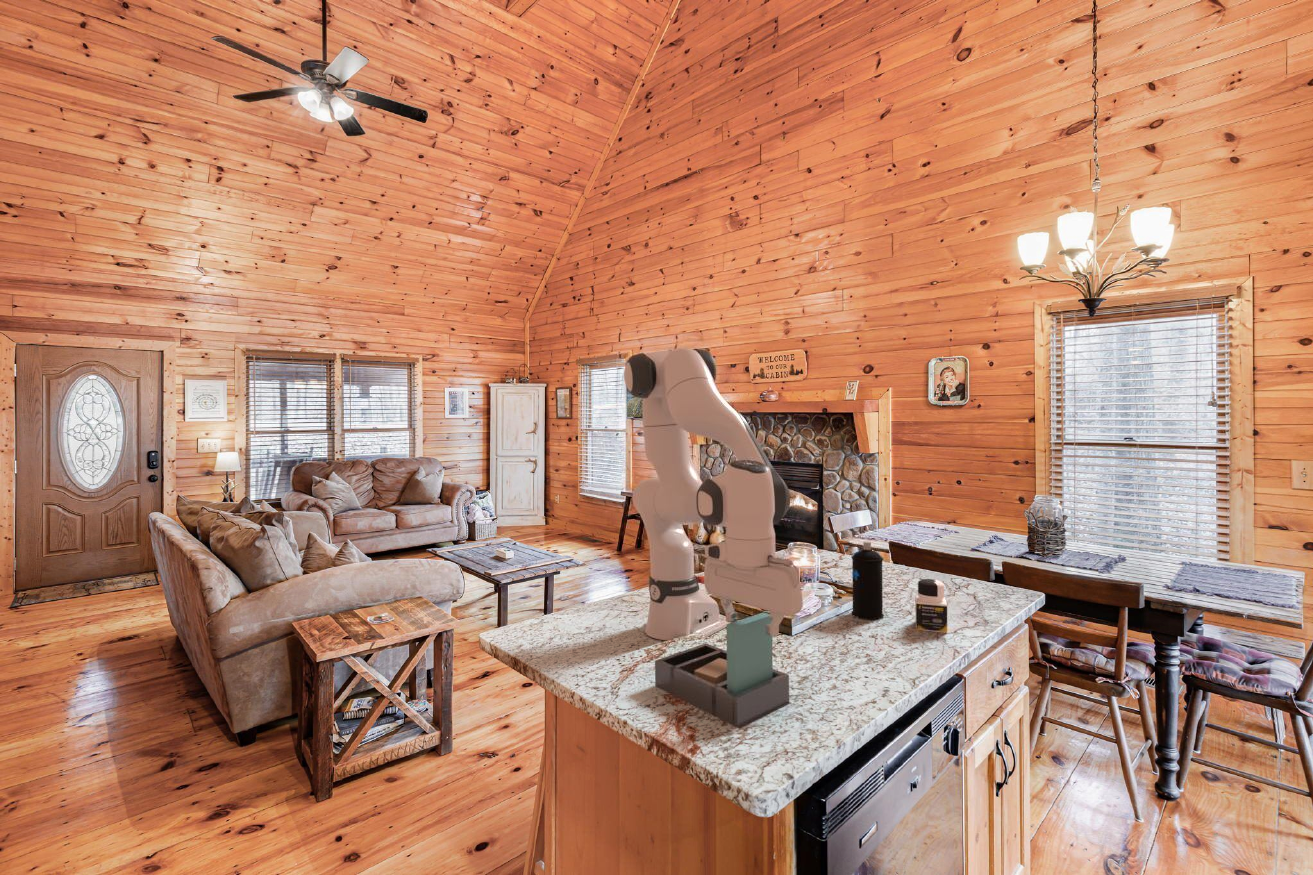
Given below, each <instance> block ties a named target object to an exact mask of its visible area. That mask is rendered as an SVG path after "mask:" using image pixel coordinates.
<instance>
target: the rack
mask: <svg viewBox="0 0 1313 875" xmlns="http://www.w3.org/2000/svg"><path fill="white" fill-rule="evenodd" d="M718 658H721V659H724V660H727V650H725V649H721V648H720V647H717V646H714V645H712V644H709V643H703V644H699V645H697V646H694V647H691V648H688V649H686V650H682V651H679V652H677V653H673V654H671V655H667V656H665V657H662V658H659V659H656V660H654V678H655V684H654V685H655V686H654V687H655V688H658V689H660V690H661V691H664V692H666V693H667V694H670V695H672V696H674V697H676V698H678V699H680V700H682V701H684V702H686V703H687V704H690V705H691V706H694V707H696V708H697V709H700V710H702V711H704V712H706V713H708V714H709V715H712V716H713V717H715V718H718V719H719V720H721V721H724V722H725V723H727V724H730V725H731V726H733V727H736V728H737V729H740V730H741V729H742V728H745V727H746V726H748V725H750V724H753V723H754V722H756V721H758V720H760V719H762V718H764V717H766V716H768V715H770V714H772V713H775V712H776V711H778V710H781V709H782V708H785V707H786V706H789V705H791V704H792V702H790V675H789V674H788V673H785V672H782V671H779V670H778V669H774V668H773V678H772V679H770V680H768V681H766V682H763V683H761V684H759V685H757V686H754V687H752V688H750V689H747V690H745V691H743V692H741V693H738V694H735V693H733V692H731V691H728V690H727V680H726V681H724V682H721V683H719V684H716V685H715V684H713V683H711V682H708V681H706V680H704V679H702V678H699V677H697V676H695V675H694V671H695V670H697V669H699V668H701V667H703V666H705V665H707V664H708V663H710V662H712V661H714V660H716V659H718Z"/></svg>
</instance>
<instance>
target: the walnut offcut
mask: <svg viewBox="0 0 1313 875" xmlns="http://www.w3.org/2000/svg"><path fill="white" fill-rule="evenodd" d="M694 675H695V676H697V677H699V678H702V679H704V680H706V681H708V682H711V683H713V684H715V685H716V684H719V683H721V682H724V681H726V680H727V660H724V659H721V658H718V659H716V660H714V661H712V662H710V663H708V664H707V665H705V666H703V667H701V668H699V669H697V670H695V671H694Z"/></svg>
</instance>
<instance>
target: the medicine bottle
mask: <svg viewBox="0 0 1313 875" xmlns="http://www.w3.org/2000/svg"><path fill="white" fill-rule="evenodd" d="M914 605H915V607H914V608H915V610H914V611H915V612H914V613H915V619H914V620H915V629H916V630H917V631H924V632H932V633H940V634H941V633H942V634H943V633H944V634H947V633H948V603H947V601H946V597H945V584H944V583H943V582H942V581H940V580H937V579H933V578H924V579H920V580H918V581H917V594H916V595H915V604H914Z"/></svg>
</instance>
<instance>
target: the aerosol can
mask: <svg viewBox="0 0 1313 875" xmlns="http://www.w3.org/2000/svg"><path fill="white" fill-rule="evenodd" d="M862 543H863V547H862V549H860V550H858V551H856V552H854V554H853V555H851V559H852V562H851V563H852V565H851V568H852V611H851V614H852V616H853V615H854V616H853V617H855V618H857V617H858V618H857V619H862V620H870V621H875V620H876V619H877V620H880V619H883V618H884V616H885V615H884V613H883V612H884V611H883V610H884V609H883V608H884V606H883V601H884V600H883V599H884V598H883V560H884V558H883V557H882V555H880V554H879V553H878V552H877V551H876V550H875V551H874V550H872V542H871V541H863V542H862ZM877 620H876V621H877Z"/></svg>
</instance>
